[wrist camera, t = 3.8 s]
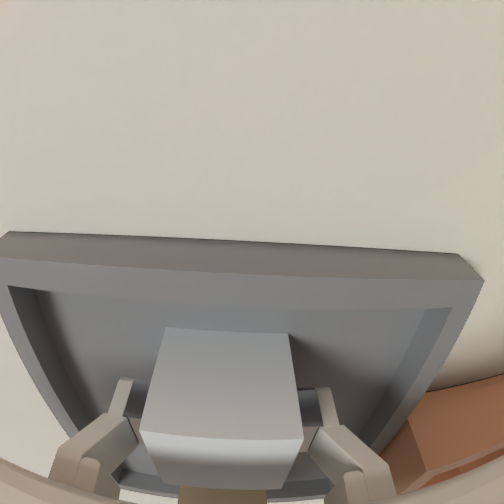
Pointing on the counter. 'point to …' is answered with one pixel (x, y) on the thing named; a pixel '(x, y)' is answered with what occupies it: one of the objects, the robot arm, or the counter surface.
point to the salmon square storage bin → (448, 435)
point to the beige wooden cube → (220, 496)
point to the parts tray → (232, 324)
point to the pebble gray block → (223, 410)
